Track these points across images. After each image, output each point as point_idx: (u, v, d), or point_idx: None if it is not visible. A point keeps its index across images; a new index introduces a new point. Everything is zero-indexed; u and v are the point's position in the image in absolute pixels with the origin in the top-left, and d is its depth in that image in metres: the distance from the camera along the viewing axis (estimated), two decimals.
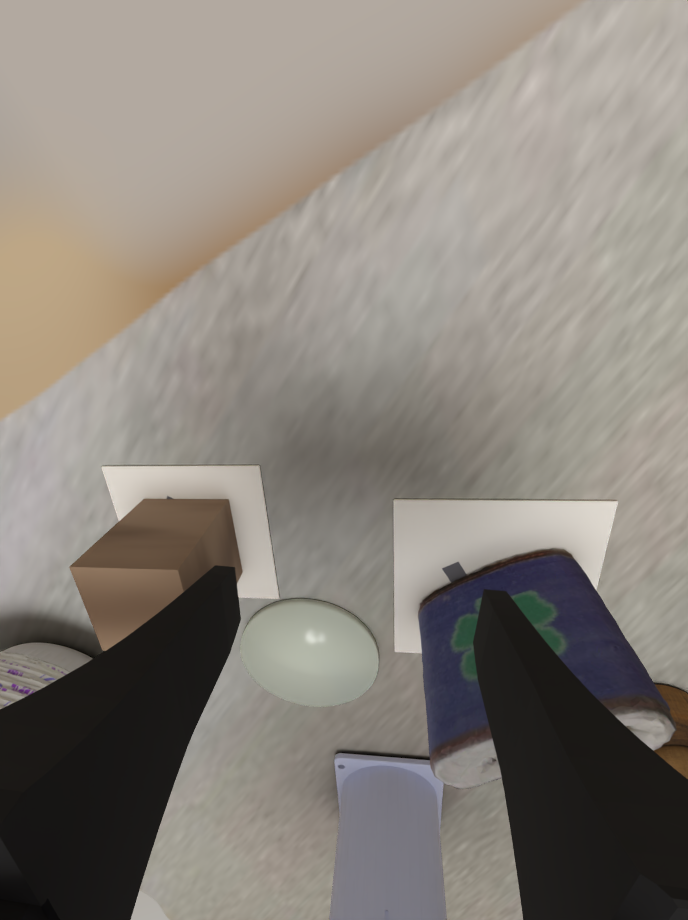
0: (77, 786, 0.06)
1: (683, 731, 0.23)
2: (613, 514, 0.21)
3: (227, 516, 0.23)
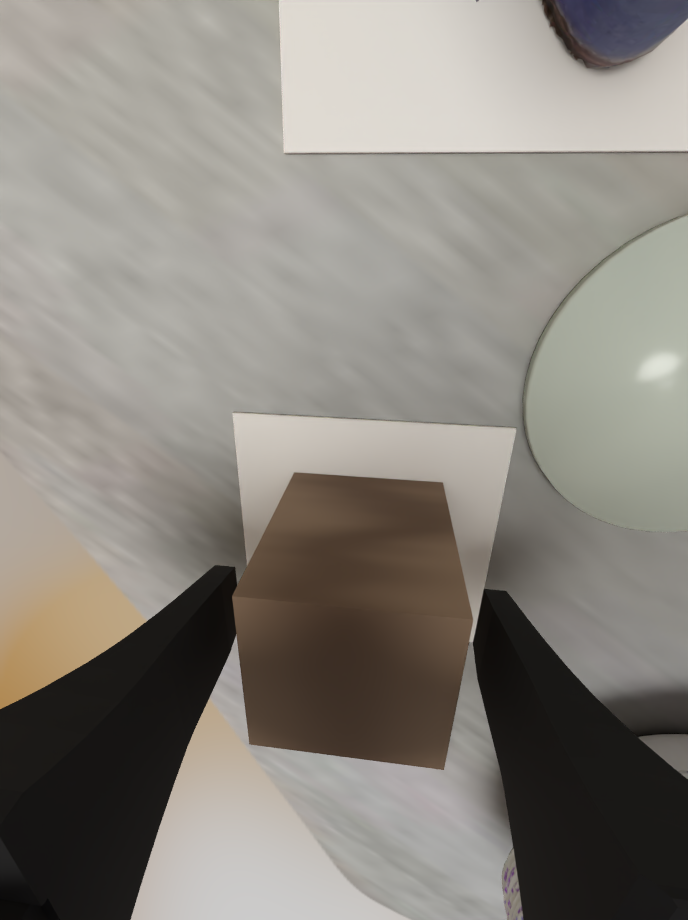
0: (77, 786, 0.06)
1: None
2: None
3: (313, 481, 0.14)
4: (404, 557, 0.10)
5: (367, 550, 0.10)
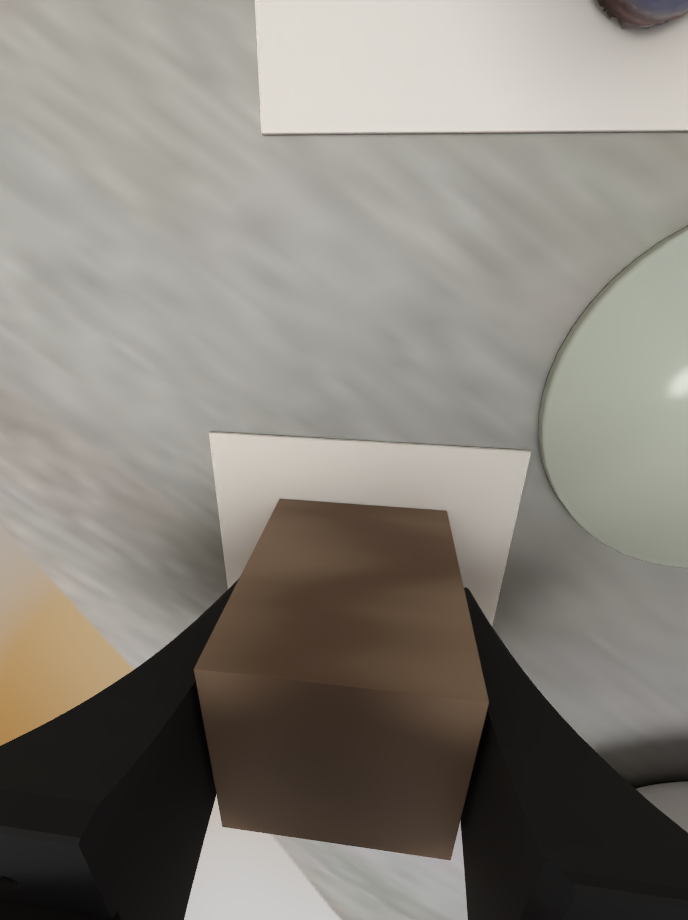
0: (142, 795, 0.06)
1: None
2: None
3: (300, 509, 0.12)
4: (404, 612, 0.09)
5: (360, 602, 0.09)
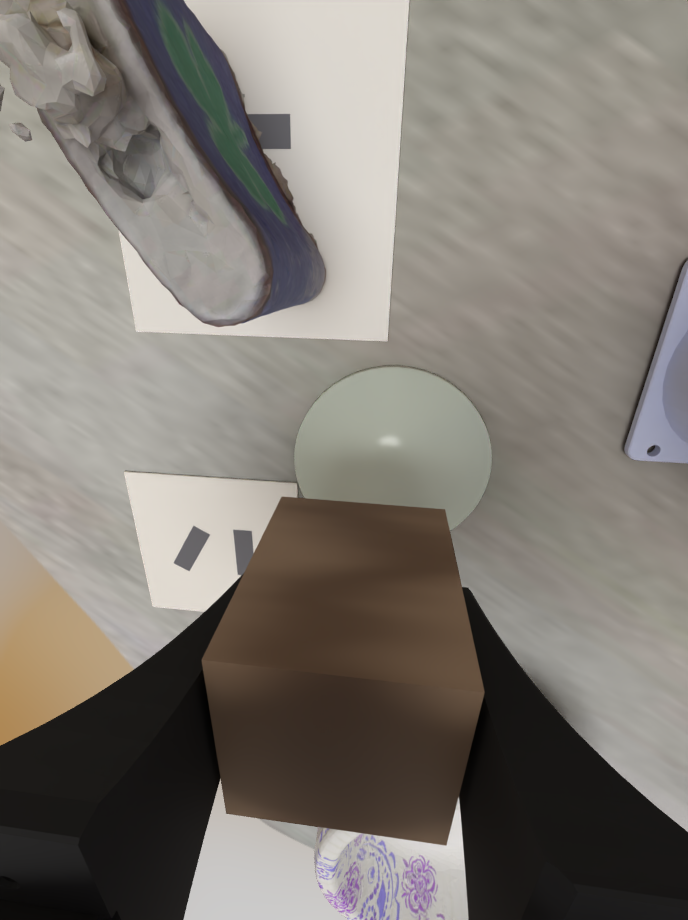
0: (141, 795, 0.06)
1: None
2: None
3: (301, 507, 0.12)
4: (403, 606, 0.09)
5: (361, 597, 0.09)
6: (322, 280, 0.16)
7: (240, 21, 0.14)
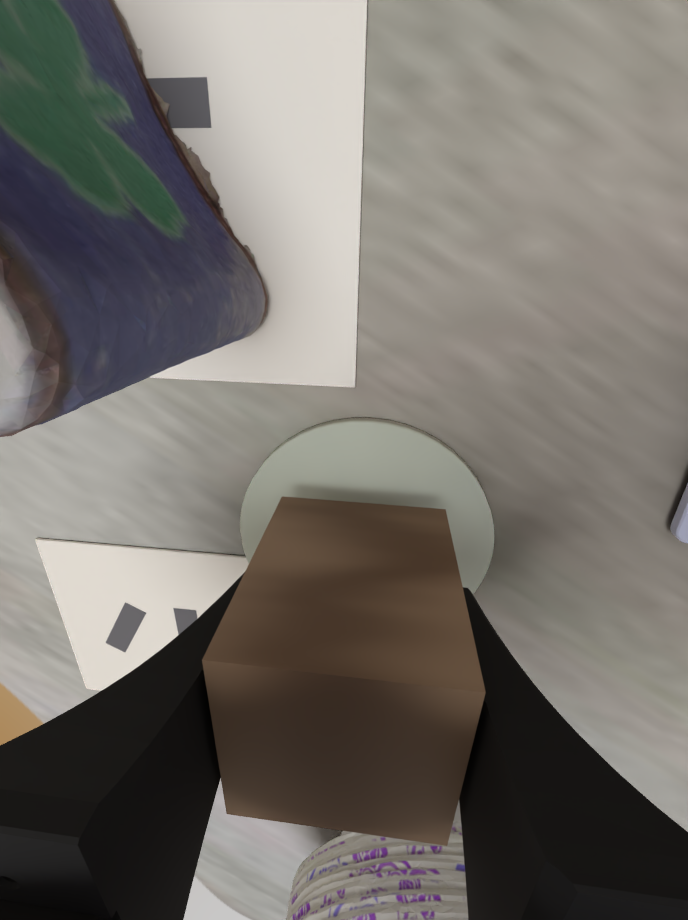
0: (141, 795, 0.06)
1: None
2: None
3: (302, 507, 0.12)
4: (404, 606, 0.09)
5: (361, 597, 0.09)
6: (260, 310, 0.12)
7: None
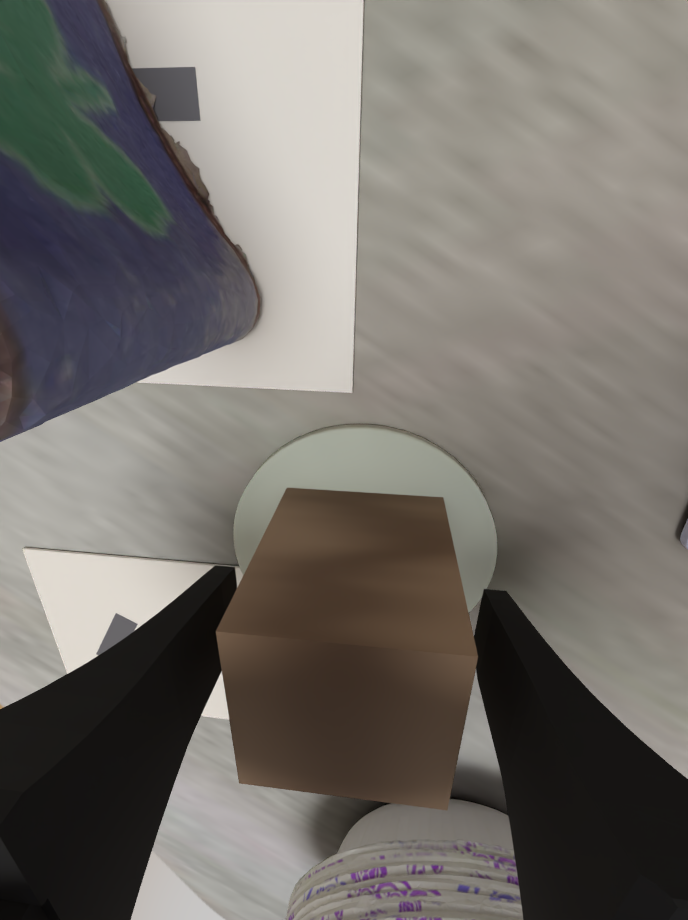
0: (77, 786, 0.06)
1: None
2: None
3: (306, 497, 0.13)
4: (403, 583, 0.09)
5: (363, 576, 0.10)
6: (252, 312, 0.11)
7: None
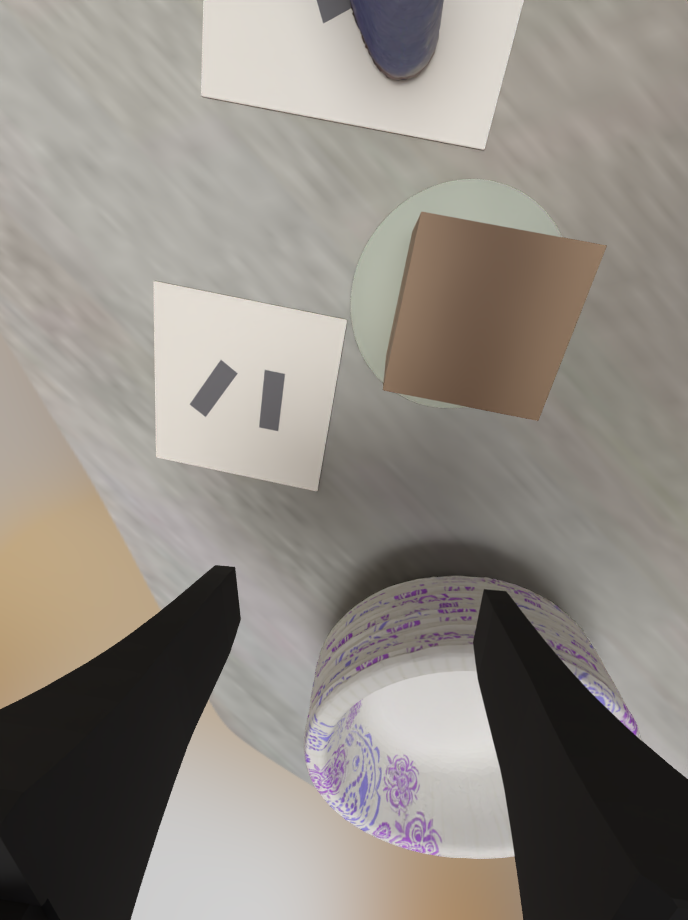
0: (77, 786, 0.06)
1: None
2: None
3: None
4: None
5: None
6: (435, 44, 0.14)
7: None
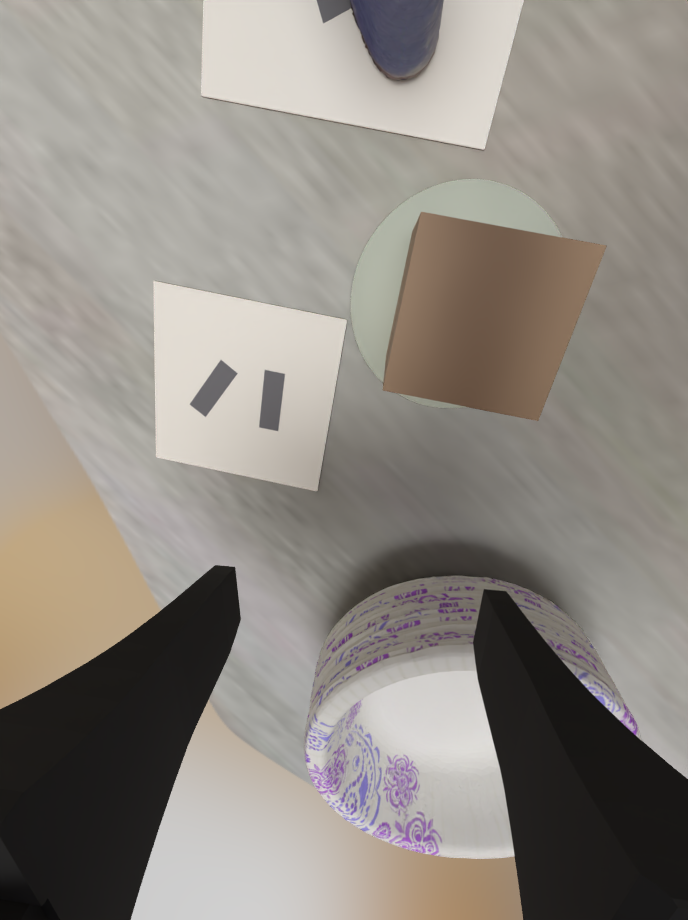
0: (77, 786, 0.06)
1: None
2: None
3: None
4: None
5: None
6: (435, 44, 0.14)
7: None
